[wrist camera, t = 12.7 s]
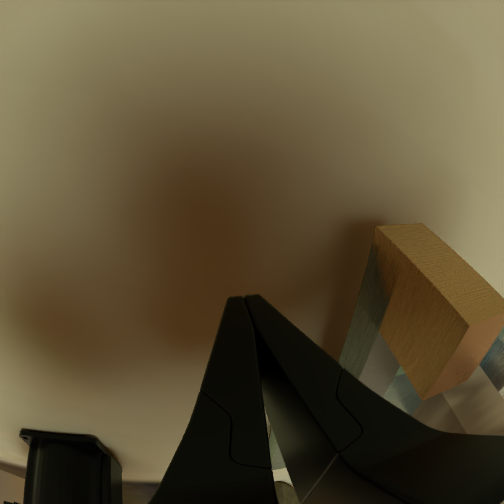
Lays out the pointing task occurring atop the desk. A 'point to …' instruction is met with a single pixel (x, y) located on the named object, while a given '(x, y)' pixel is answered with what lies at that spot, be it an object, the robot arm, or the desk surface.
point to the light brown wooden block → (419, 314)
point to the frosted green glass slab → (406, 398)
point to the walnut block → (465, 408)
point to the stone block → (286, 494)
